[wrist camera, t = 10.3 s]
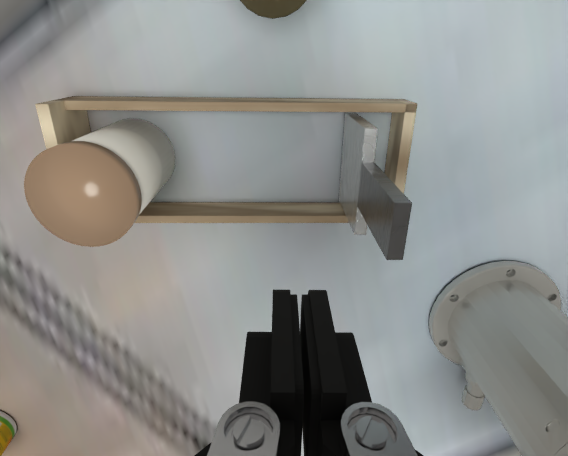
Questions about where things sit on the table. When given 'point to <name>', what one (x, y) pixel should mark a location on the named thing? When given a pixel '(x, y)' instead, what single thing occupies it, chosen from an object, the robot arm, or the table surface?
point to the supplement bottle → (6, 431)
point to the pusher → (371, 190)
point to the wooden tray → (74, 120)
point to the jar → (99, 181)
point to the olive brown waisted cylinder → (273, 7)
